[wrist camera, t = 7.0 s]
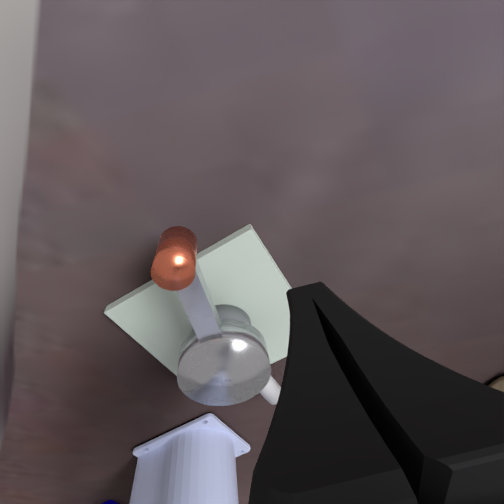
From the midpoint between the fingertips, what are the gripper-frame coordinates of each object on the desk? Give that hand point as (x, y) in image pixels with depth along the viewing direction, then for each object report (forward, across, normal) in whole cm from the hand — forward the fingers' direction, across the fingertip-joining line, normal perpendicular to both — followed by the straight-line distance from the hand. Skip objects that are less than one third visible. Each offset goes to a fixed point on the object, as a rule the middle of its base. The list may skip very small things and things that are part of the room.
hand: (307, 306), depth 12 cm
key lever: (+7, +5, +5) cm, 10 cm away
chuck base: (+10, +5, +9) cm, 15 cm away
